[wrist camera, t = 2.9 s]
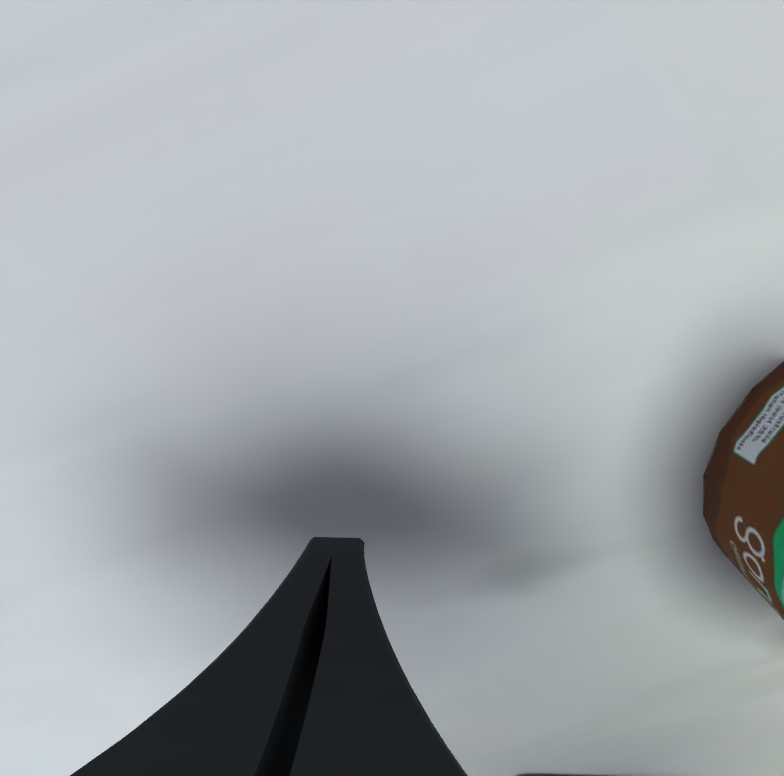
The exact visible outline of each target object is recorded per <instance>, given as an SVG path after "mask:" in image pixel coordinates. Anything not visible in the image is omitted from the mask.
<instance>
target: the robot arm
mask: <svg viewBox="0 0 784 776" xmlns="http://www.w3.org/2000/svg"><path fill="white" fill-rule="evenodd" d="M70 776H467V774H466V773H465V772H464V770H463V769H462V767H461V766H460V765H459V763H458V762H457V760H456V759H455V757H454V756H453V754H452V753H451V751H450V750H449V749H448V747H447V746H446V744H445V742H444V741H443V739H442V738H441V736H440V735H439V733H438V732H437V730H436V728H435V727H434V725H433V724H432V722H431V721H430V719H429V717H428V715H427V714H426V712H425V710H424V708H423V707H422V705H421V703H420V701H419V700H418V698H417V696H416V694H415V693H414V691H413V689H412V687H411V686H410V684H409V682H408V680H407V678H406V676H405V674H404V672H403V670H402V668H401V666H400V664H399V662H398V660H397V657H396V655H395V653H394V651H393V649H392V646H391V644H390V642H389V639H388V637H387V634H386V632H385V629H384V627H383V624H382V621H381V619H380V616H379V613H378V610H377V607H376V604H375V601H374V598H373V594H372V591H371V587H370V584H369V580H368V576H367V571H366V566H365V559H364V542H363V541H362V540H361V539H360V538H329V537H314V538H313V539H311V540H310V542H309V543H308V545H307V547H306V548H305V550H304V552H303V553H302V555H301V556H300V558H299V559H298V561H297V563H296V564H295V565H294V567H293V568H292V570H291V571H290V573H289V574H288V576H287V577H286V578H285V580H284V581H283V582H282V584H281V585H280V586H279V588H278V589H277V590H276V592H275V593H274V594H273V596H272V597H271V598H270V599H269V601H268V602H267V603H266V604H265V606H264V607H263V608H262V609H261V610H260V612H259V613H258V614H257V615H256V616H255V617H254V619H253V620H252V621H251V622H250V623H249V625H248V626H247V627H246V628H245V629H244V630H243V631H242V632H241V634H240V635H239V636H238V637H237V638H236V639H235V640H234V641H233V642H232V643H231V644H230V645H229V646H228V647H227V648H226V649H225V650H224V651H223V652H222V653H221V654H220V655H219V656H218V657H217V658H216V659H215V660H214V661H213V662H212V663H211V664H210V665H209V666H208V667H207V668H206V669H205V670H204V671H203V672H202V673H201V674H200V675H198V676H197V677H196V678H195V679H194V680H193V681H192V682H191V683H190V684H189V685H188V686H186V687H185V688H184V689H183V690H182V691H181V692H180V693H178V694H177V695H176V696H175V697H174V698H173V699H171V700H170V701H169V702H168V703H166V704H165V705H164V706H163V707H161V708H160V709H159V710H158V711H157V712H155V713H154V714H153V715H152V716H150V717H149V718H148V719H147V720H146V721H144V722H143V723H142V724H141V725H139V726H138V727H137V728H136V729H134V730H133V731H132V732H130V733H129V734H128V735H127V736H125V737H124V738H123V739H121V740H120V741H118V742H117V743H116V744H114V745H113V746H111V747H110V748H109V749H107V750H106V751H104V752H103V753H101V754H100V755H99V756H97V757H96V758H94V759H93V760H92V761H90V762H89V763H87V764H86V765H84V766H83V767H82V768H80V769H79V770H77V771H76V772H75V773H73V774H72V775H70Z"/></svg>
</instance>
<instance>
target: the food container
mask: <svg viewBox="0 0 784 776" xmlns="http://www.w3.org/2000/svg"><path fill="white" fill-rule="evenodd" d="M703 515H704V517H705V520H706V522H707V525H708V527H709V530H710V532H711V535H712V537H713V540H714V541H715V542H716V544H717V545H718V546H719V548H720V549H721V550H722V551H723V553H724V554H725V555H726V556H727V557H728V558H729V560H730V561H731V562H732V563H733V564H734V565H735V566H736V567H737V568H738V570H739V571H740V572H741V573H742V574H743V575H744V576H745V577H746V578H747V580H748V581H749V582H750V583H751V584H752V585H753V586H754V587H755V589H756V590H757V591H758V592H759V593H760V594H761V595H762V596H763V597H764V599H765V600H766V601H767V602H768V603H769V604H770V605H771V606H772V607H773V609H774V610H775V611H776V612H777V613H778V614H779V615H780V616H781V618H782V619H783V620H784V362H783V363H781V364H780V365H779V366H778V367H777V368H776V369H775V370H773V371H772V372H771V373H770V374H769V375H768V376H766V377H765V378H764V379H763V380H762V381H761V382H760V383H758V384H757V385H756V386H755V387H754V388H753V389H752V390H751V391H750V393H749V394H748V395H747V397H746V398H745V399H744V401H743V402H742V403H741V405H740V406H739V407H738V409H737V410H736V411H735V413H734V414H733V415H732V417H731V418H730V419H729V421H728V422H727V424H726V425H725V426H724V428H723V429H722V430H721V432H720V434H719V436H718V439H717V442H716V444H715V447H714V450H713V452H712V455H711V457H710V460H709V463H708V465H707V468H706V471H705V473H704V496H703Z"/></svg>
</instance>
